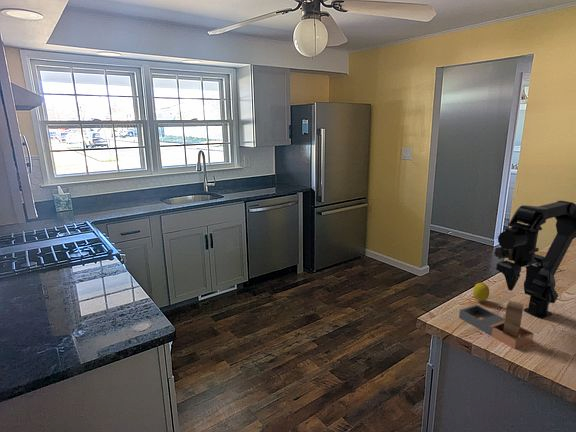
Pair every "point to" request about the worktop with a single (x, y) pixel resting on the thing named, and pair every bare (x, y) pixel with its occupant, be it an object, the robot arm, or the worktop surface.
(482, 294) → the lemon
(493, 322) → the rail
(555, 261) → the robot arm
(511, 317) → the peg
